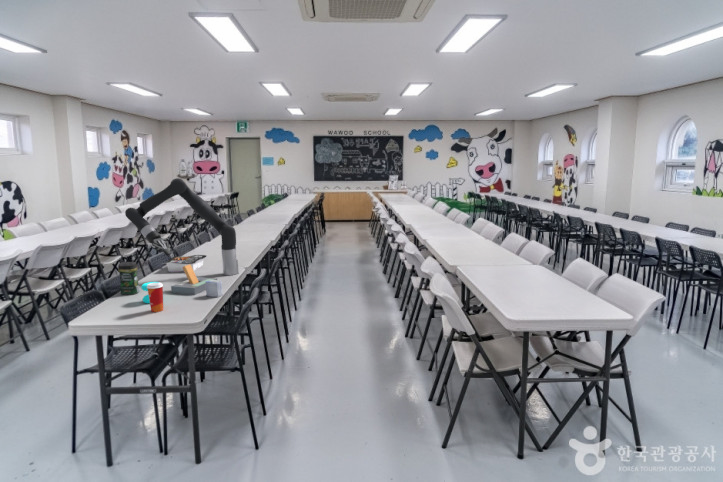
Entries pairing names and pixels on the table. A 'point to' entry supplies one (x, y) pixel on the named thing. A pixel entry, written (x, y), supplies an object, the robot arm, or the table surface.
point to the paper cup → (155, 296)
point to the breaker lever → (190, 274)
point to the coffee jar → (128, 278)
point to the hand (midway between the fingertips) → (169, 254)
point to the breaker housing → (191, 286)
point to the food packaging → (184, 262)
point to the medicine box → (214, 288)
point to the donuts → (144, 287)
